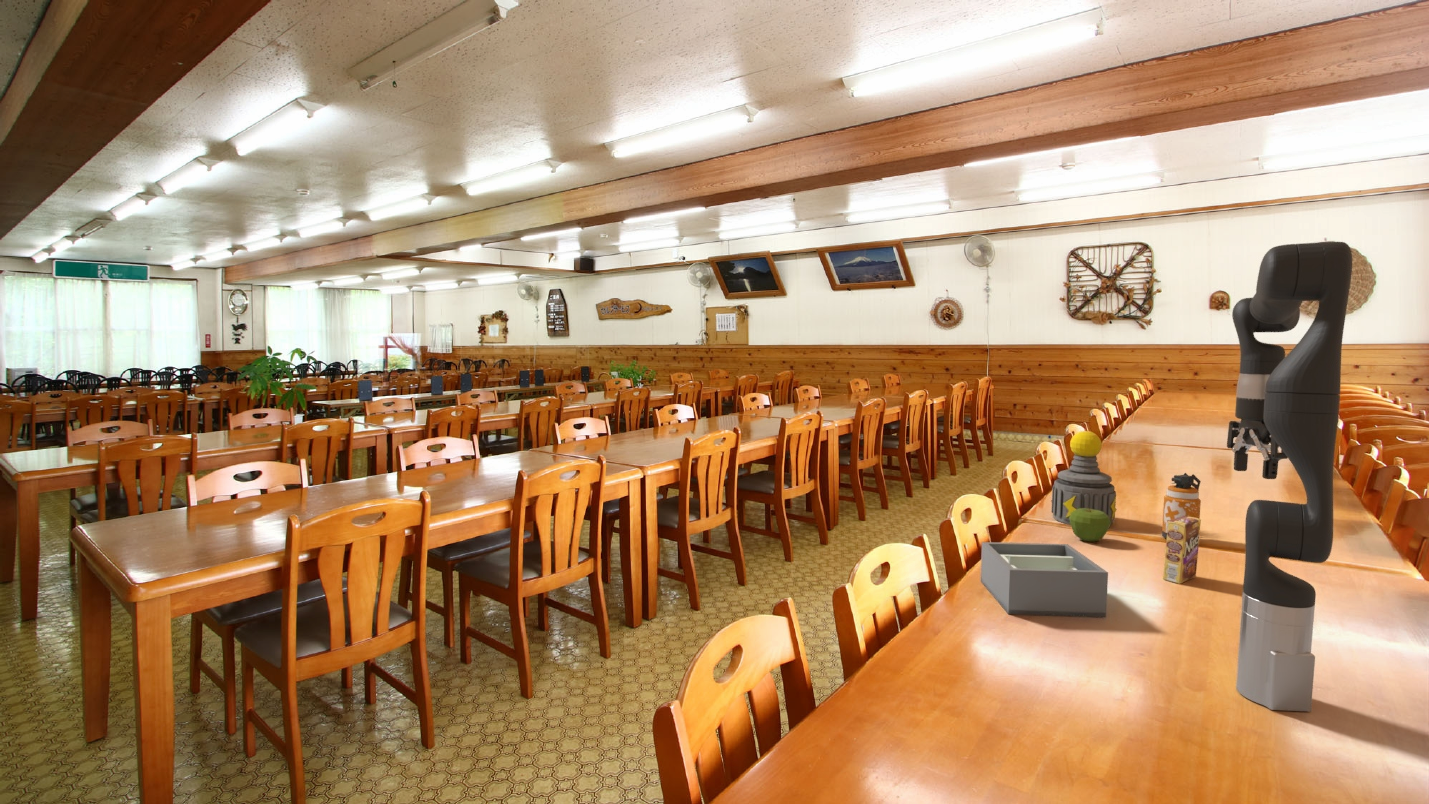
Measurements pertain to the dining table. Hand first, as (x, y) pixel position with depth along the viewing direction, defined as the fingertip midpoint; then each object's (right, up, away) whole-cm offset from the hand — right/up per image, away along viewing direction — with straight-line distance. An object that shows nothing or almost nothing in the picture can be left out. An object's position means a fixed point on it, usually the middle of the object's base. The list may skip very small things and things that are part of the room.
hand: (1254, 474), depth 139 cm
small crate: (-36, -30, +18) cm, 50 cm away
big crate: (-36, -31, +18) cm, 50 cm away
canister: (+29, -27, +63) cm, 74 cm away
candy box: (+6, -30, +30) cm, 43 cm away
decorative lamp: (+11, -25, +85) cm, 89 cm away
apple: (+1, -27, +63) cm, 68 cm away
